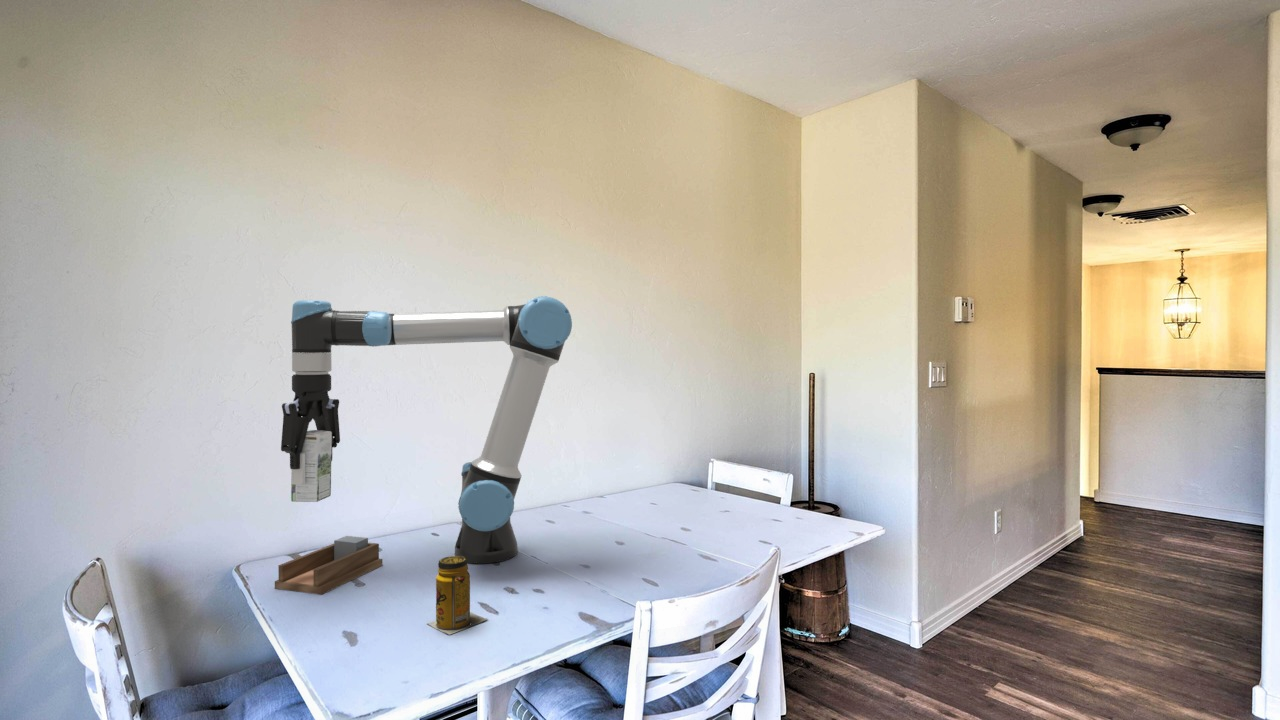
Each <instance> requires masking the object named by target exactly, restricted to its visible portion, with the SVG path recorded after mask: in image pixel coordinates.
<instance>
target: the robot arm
mask: <svg viewBox="0 0 1280 720" xmlns="http://www.w3.org/2000/svg"><path fill="white" fill-rule="evenodd" d="M291 310H292V311H291V321H290V324H291V352H292V353H291V371H292V372H293V373H294V374H292V376H291V391H293V392H294V398H293V401H291V402H289V403H288V402H287V403H286V402H283V403H282V405H281V410H282V414H283V418H282V429H281V430H282V432H281V444H280V451H281V452H285V453H286V454H289V468H290V470H291V479H292V484H296V485H305V453H301V452H302V449H303V445H304V441H305V437H306V433H307V431H309V430H308V429H309V425H310V423H311V422H312V420H313V421H314V424H315V428H316V430H324V431H331V432H332V448H331V462H332V461H333V449H335V448H336V447H337V446H338V444H339V443H341V435H340V420H339V407H340V400H339V399H338V398H337V399H336V398H330V396H329V392H330V391H331V390H332V375H331V374H329V372H331V371H332V346H336V347H337V346H339V347H340V346H350V347H352V346H354V347H358V346H359V347H374V348H375V347H380V346H381V347H382V346H384V347H385V346H399V345H425V344H426V345H429V344H455V343H457V344H460V343H461V344H462V343H485V342H487V343H488V342H504V343H505V344H506V345H508V346H509V348H510V351H511V353H512V356H513V357H512V360H511V363H510V366H509V369H508V372H507V375H506V377H505V381H504V384H503V386H502V391H501V394H500V396H499V399H498V403H497V406H496V409H495V411H494V415H493V418H492V420H491V424H490V428H489V430H488V434H487V436H486V439H485V441H484V442H485V443H484V445H483V448H482V451H481V454H480V456H479V457H477V458H475V459H474V460H471V462H469V461H468V462H465V463H464V464H463V465H462V469H461V473H460V474H461V492H460V496H459V499H458V502H457V503H458V504H457V505H458V507H457V508H458V511H459V514H460V516H461V527H460V529H459V533H458V536H457V540H456V542H455V545H454V556H462V557H465V558H467V560H468V564H494V563H499V562H502V561H507V560H509V559H511V558H514V557H515V556H516V555H517V554H518V542H517V541H518V540H517V537H516V535H515V533H514V532H515V531H514V529H513V525H512V522H511V517H512V515H513V513H514V510H515V498H516V495H517V491H518V488H519V484H520V481H521V479H522V473H521V471H520V469H519V463H520V461H521V458H522V454H523V452H524V451H523V450H524V448H525V445H526V443H527V438H528V437H529V436H528V435H529V432H530V430H531V426H532V423H533V419H534V417H535V414H536V411H537V407H538V404H539V401H540V398H541V396H542V392H543V389H544V386H545V383H546V379H547V377H548V375H549V374H548V373H549V371H550V368H551V367H552V366H553V365H555V364H558V363H559V362H560V361H559V360H560V358H561V355H562V353H563V352H562V351H563V349H564V345H565V343H566V341H567V340H568V338H569V337H570V335H571V333H572V327H573V321H572V320H573V319H572V315H571V313H570V311H569V309H568V307H567V306H566V305H565V304H564V303H563V302H562V301H560V300H559V299H557V298H554V297H550V296H545V295H543V296H542V295H541V296H537V297H533V298H531V299H530V300H529V301H527V302H526V303H524V304H520V305H506V306H505V307H504V308H503V309H501V310H473V311H472V310H471V311H470V310H468V311H467V310H465V311H438V312H437V311H436V312H408V313H407V312H404V313H403V312H402V313H388V312H386V311H377V310H369V311H367V310H364V311H363V310H351V311H350V310H336V309H335V310H334V309H333V308H332V303H331V302H329V301H326V300H311V299H310V300H308V299H307V300H306V299H305V300H304V299H303V300H301V299H300V300H296V301H294V303H293V304H292V309H291ZM295 446H297V447H295Z"/></svg>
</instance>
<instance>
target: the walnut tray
mask: <svg viewBox="0 0 1280 720" xmlns="http://www.w3.org/2000/svg"><path fill="white" fill-rule="evenodd" d="M382 566H383V558H380V544H379V543H378V542H377V543H376V542H368V547H365V548H363V549H361V550H358V551H356V552H354V553H351V554H349V555H347V556H344V557H342V558H340V559H337V560H335V561H334V543H332V544H329V545H327V546H324V547H322V548H320V549H316V550H314V551H312V552H309V553H307V554H304V555H301V556H299V557H296V558H293V559H291V560H289V561H286V562H284V563H281V564H278V567H277V568H278V569H277V570H278V579H277V580H275V581H274V589H277V590H283V591H284V590H285V591H290V592H297V593H298V592H299V593H305V594H314V595H321V596H322V595H324V594H326V593H328V592H331V591H332V590H334V589H336V588H338V587H341V586H343V585H345V584H347V583H349V582H351V581H353V580H355V579H357V578H359V577H361V576H363V575H365V574H367V573H369V572H372V571H373V570H376V569H378V568H380V567H382Z"/></svg>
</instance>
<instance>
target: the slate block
mask: <svg viewBox="0 0 1280 720" xmlns="http://www.w3.org/2000/svg"><path fill="white" fill-rule="evenodd" d="M333 542H334V543H333V544H334V561H335V560H337V559H340V558H342V557H344V556H347V555H349V554H351V553H354V552H356V551H358V550H361V549H363V548H365V547H368V543H369V538H368V537H361V536H351V535H344V536H342V537H340V538H338V539H334V540H333Z"/></svg>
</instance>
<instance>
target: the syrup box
mask: <svg viewBox="0 0 1280 720" xmlns="http://www.w3.org/2000/svg"><path fill="white" fill-rule="evenodd" d="M295 447H297V446H295ZM331 448H332V432H331V431H324V430H317V429H310V430H307V433H306V437H305V441H304V445H303V449H302V452H301V453H305V485H296V484H292V478H291V484H290V485H291V487H290V488H291V489H290V501H291V502H295V503H301V502H303V503H318V502H321V501H322V500H324V499H327V498H329V497H331V492H332V461H331ZM332 449H333V448H332Z"/></svg>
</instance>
